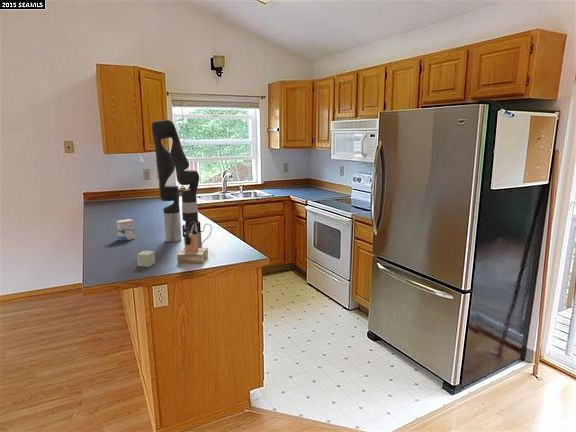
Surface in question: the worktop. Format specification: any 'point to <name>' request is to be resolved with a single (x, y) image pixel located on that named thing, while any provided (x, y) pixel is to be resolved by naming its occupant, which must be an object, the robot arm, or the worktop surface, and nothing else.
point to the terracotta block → (192, 243)
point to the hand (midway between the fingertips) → (191, 242)
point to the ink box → (125, 229)
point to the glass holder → (200, 235)
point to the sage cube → (146, 258)
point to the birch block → (193, 256)
